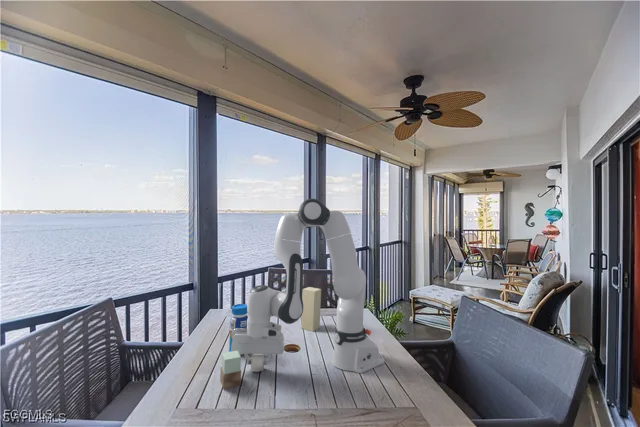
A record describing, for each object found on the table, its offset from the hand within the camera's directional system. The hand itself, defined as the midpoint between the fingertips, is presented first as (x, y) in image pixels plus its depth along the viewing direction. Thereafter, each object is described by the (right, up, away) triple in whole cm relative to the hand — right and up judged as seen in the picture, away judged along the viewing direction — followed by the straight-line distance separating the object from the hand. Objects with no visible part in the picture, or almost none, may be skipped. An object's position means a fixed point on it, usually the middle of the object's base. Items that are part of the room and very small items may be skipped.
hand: (257, 364), depth 117 cm
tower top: (-8, +3, -9) cm, 12 cm away
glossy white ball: (0, -2, 0) cm, 2 cm away
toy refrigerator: (+19, -3, +45) cm, 49 cm away
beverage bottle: (-11, -2, +15) cm, 19 cm away
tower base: (-8, -2, -9) cm, 12 cm away
